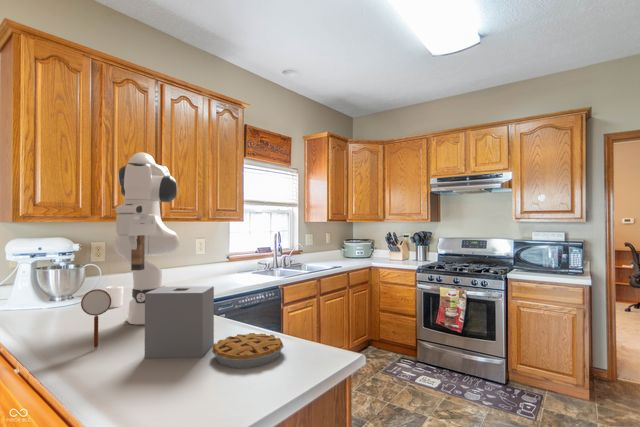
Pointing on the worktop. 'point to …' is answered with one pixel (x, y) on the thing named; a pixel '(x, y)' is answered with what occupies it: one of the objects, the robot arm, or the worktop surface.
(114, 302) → the white cup
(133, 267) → the long brown rectangular block
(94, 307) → the magnifying glass
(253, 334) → the pie
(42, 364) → the worktop surface
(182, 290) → the grey tissue box
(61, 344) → the worktop surface
